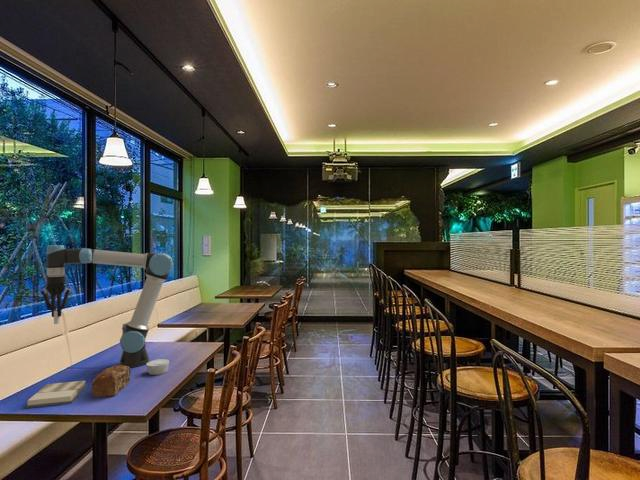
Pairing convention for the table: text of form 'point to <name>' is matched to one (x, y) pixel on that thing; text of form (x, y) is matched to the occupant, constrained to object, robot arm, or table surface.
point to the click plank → (63, 386)
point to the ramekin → (157, 366)
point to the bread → (111, 381)
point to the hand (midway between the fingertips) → (56, 323)
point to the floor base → (54, 398)
